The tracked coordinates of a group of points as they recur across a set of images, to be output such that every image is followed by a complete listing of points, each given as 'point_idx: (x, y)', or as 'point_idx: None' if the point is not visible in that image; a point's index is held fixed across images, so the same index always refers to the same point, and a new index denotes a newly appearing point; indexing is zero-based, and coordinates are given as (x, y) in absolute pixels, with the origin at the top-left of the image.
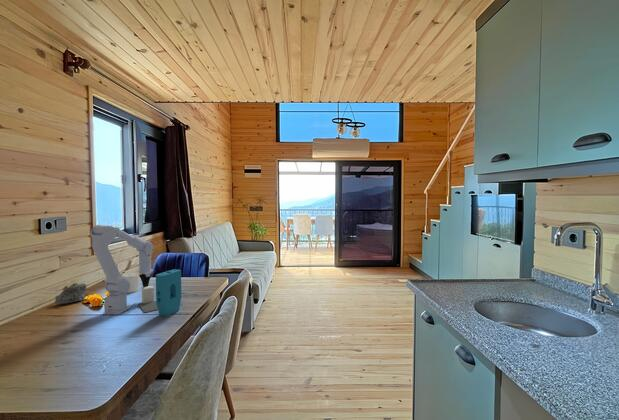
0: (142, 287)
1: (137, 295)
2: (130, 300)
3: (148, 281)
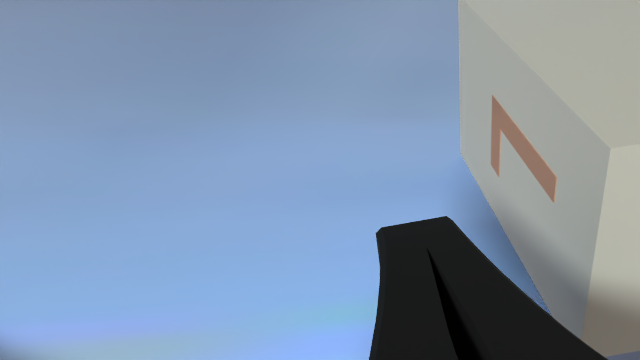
0: (596, 347)
1: (24, 220)
2: (274, 288)
3: (560, 339)
